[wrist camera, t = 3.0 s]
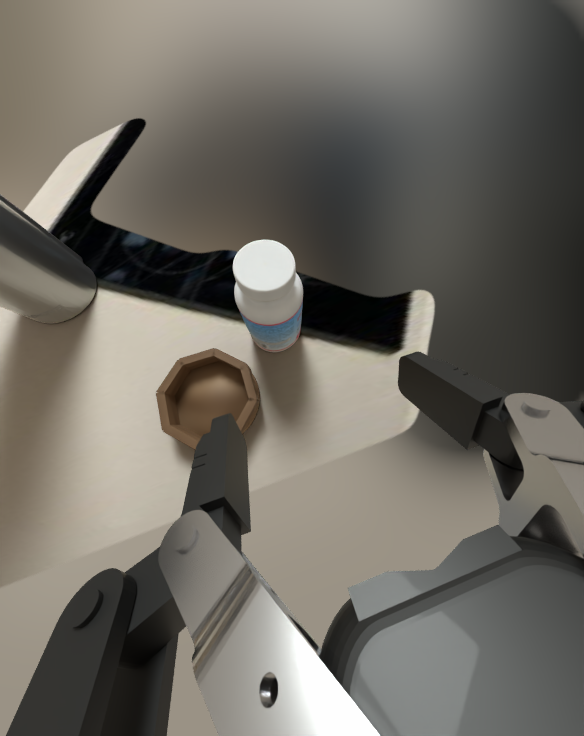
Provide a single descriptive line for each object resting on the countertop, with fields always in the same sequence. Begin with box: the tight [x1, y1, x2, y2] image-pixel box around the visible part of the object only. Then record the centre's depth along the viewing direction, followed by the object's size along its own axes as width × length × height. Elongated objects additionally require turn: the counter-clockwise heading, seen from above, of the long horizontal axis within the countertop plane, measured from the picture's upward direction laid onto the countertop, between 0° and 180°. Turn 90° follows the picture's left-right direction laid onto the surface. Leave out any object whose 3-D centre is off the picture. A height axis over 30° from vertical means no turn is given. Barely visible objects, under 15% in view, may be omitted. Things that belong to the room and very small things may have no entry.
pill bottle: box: [233, 240, 303, 352], centre depth 21 cm, size 6×6×11 cm
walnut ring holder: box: [156, 348, 260, 450], centre depth 22 cm, size 10×10×3 cm
